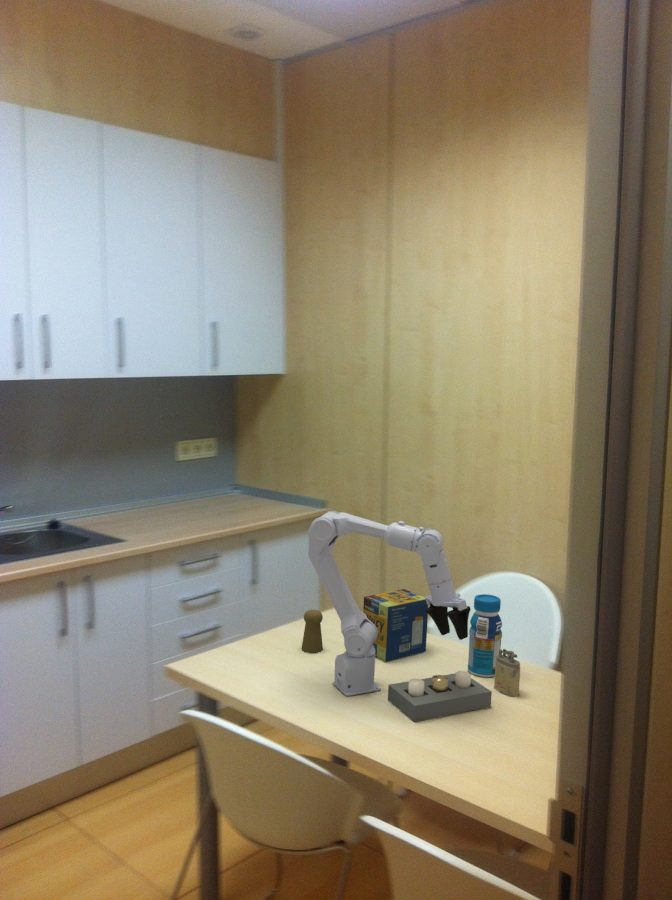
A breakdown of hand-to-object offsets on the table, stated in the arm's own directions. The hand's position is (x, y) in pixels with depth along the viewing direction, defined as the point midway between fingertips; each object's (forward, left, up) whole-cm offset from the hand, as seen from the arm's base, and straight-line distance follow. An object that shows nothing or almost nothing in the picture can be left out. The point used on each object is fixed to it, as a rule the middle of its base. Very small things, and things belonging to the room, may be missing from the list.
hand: (454, 636), depth 179 cm
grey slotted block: (-3, 0, -16) cm, 16 cm away
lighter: (+16, 0, -16) cm, 23 cm away
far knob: (+3, 0, -14) cm, 14 cm away
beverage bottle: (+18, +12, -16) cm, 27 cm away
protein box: (+3, +33, -16) cm, 37 cm away
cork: (-18, +42, -16) cm, 48 cm away
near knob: (-10, 0, -14) cm, 17 cm away
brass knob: (-3, 0, -14) cm, 14 cm away
